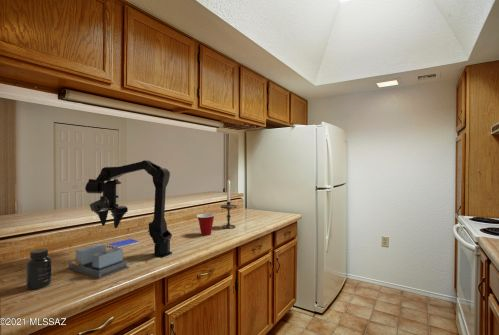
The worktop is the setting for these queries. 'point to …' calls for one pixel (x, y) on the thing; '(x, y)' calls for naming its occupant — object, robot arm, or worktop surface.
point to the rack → (102, 264)
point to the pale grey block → (88, 253)
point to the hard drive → (123, 243)
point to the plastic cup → (206, 223)
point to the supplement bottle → (38, 269)
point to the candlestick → (228, 208)
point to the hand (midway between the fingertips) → (109, 226)
